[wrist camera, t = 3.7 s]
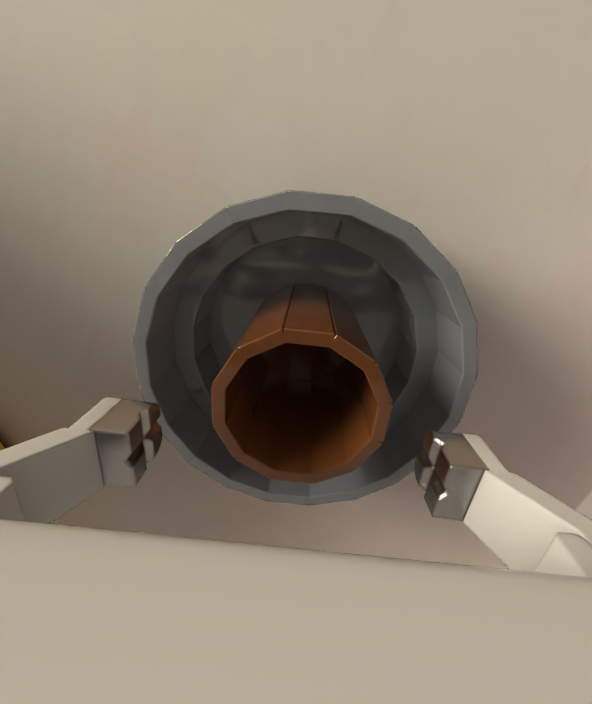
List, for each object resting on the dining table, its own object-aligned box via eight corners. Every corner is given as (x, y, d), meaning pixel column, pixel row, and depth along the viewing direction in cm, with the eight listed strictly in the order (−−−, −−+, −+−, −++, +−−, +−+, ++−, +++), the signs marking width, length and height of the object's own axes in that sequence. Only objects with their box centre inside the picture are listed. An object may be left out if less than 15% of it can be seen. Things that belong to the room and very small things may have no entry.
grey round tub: (457, 217, 16) (535, 214, 10) (396, 441, 21) (426, 518, 16) (180, 189, 16) (111, 172, 10) (191, 420, 21) (149, 489, 16)
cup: (366, 289, 17) (409, 341, 10) (348, 388, 19) (372, 490, 12) (253, 277, 17) (209, 320, 10) (249, 378, 19) (212, 474, 12)
